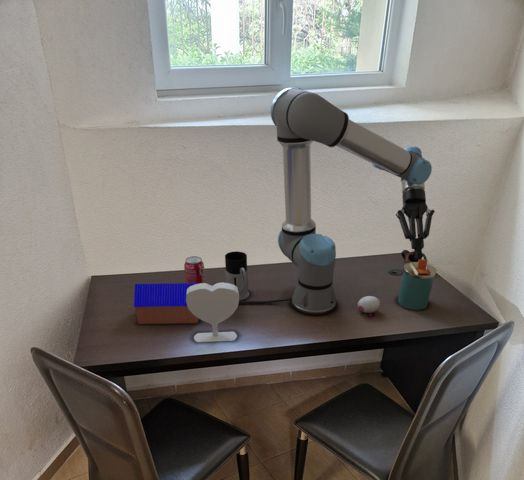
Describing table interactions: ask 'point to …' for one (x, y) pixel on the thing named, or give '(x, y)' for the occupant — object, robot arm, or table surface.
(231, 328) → the table surface
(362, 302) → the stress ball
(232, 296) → the heart sculpture
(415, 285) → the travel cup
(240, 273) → the grey coffee mug
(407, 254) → the pottery mug
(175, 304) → the house
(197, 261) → the soda can
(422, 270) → the slider
